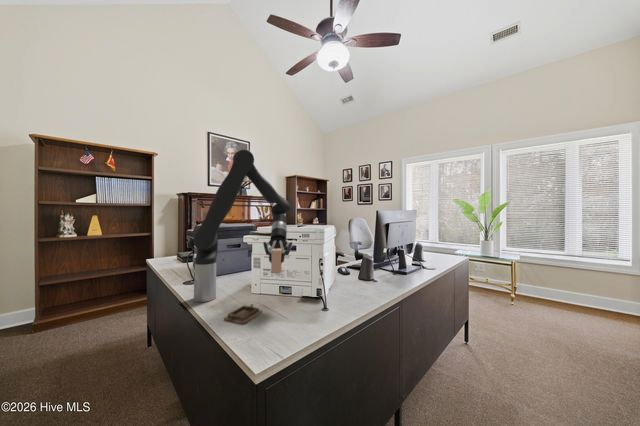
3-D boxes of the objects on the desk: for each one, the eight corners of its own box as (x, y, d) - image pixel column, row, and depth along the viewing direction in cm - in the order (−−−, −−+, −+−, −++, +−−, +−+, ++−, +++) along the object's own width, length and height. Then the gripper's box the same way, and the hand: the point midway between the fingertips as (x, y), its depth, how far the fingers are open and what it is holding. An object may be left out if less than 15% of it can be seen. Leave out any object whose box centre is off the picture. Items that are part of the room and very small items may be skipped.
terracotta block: (271, 273, 104) (271, 250, 104) (272, 270, 110) (272, 248, 110) (280, 273, 104) (280, 250, 104) (281, 269, 110) (281, 248, 110)
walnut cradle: (223, 320, 92) (223, 313, 92) (243, 308, 103) (243, 302, 103) (244, 324, 89) (244, 317, 89) (262, 312, 100) (262, 305, 100)
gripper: (263, 227, 115) (259, 257, 103) (293, 227, 116) (292, 257, 104) (264, 236, 120) (260, 266, 108) (293, 237, 121) (292, 266, 109)
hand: (276, 261), depth 106 cm, fingers closed on terracotta block, 4 cm apart
